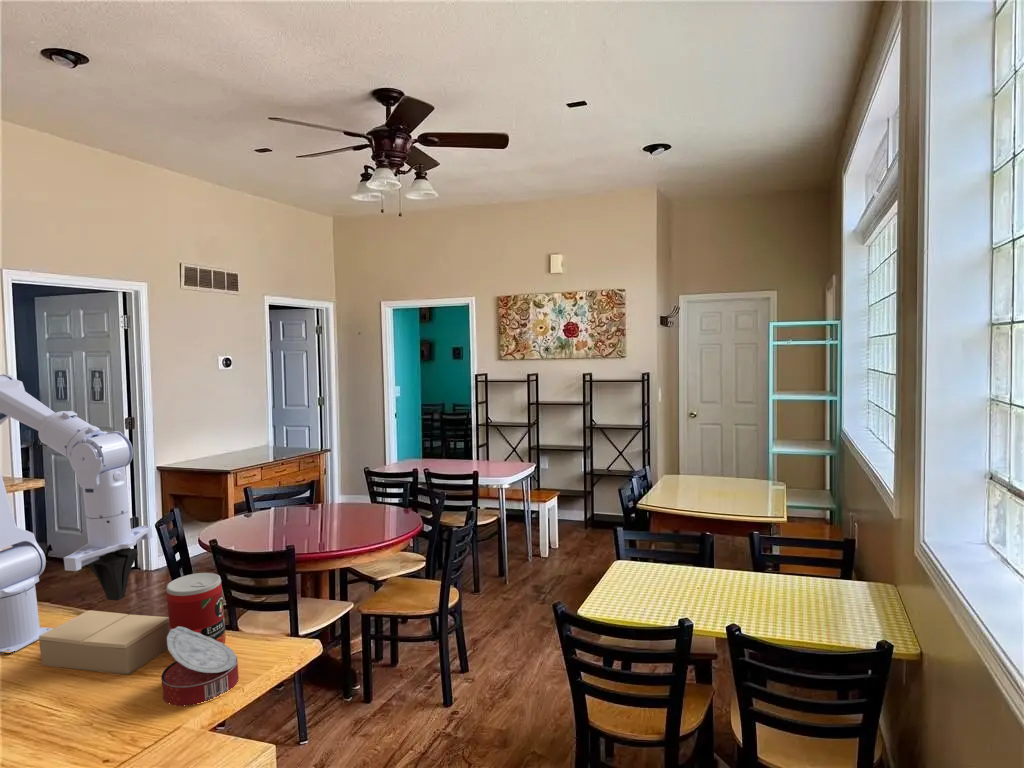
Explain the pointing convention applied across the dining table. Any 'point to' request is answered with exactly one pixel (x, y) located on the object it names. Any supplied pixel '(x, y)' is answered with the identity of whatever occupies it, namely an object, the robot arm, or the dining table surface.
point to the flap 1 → (82, 627)
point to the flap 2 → (126, 631)
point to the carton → (105, 654)
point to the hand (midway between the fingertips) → (116, 598)
